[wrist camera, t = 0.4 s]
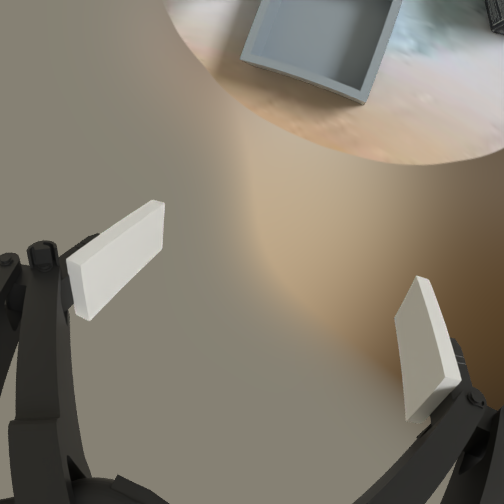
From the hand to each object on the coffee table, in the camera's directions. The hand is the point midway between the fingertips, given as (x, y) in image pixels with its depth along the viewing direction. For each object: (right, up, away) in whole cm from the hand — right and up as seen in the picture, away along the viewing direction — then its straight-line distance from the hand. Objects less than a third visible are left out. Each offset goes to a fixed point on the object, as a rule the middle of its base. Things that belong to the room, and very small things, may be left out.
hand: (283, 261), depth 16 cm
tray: (+8, +28, +16) cm, 33 cm away
